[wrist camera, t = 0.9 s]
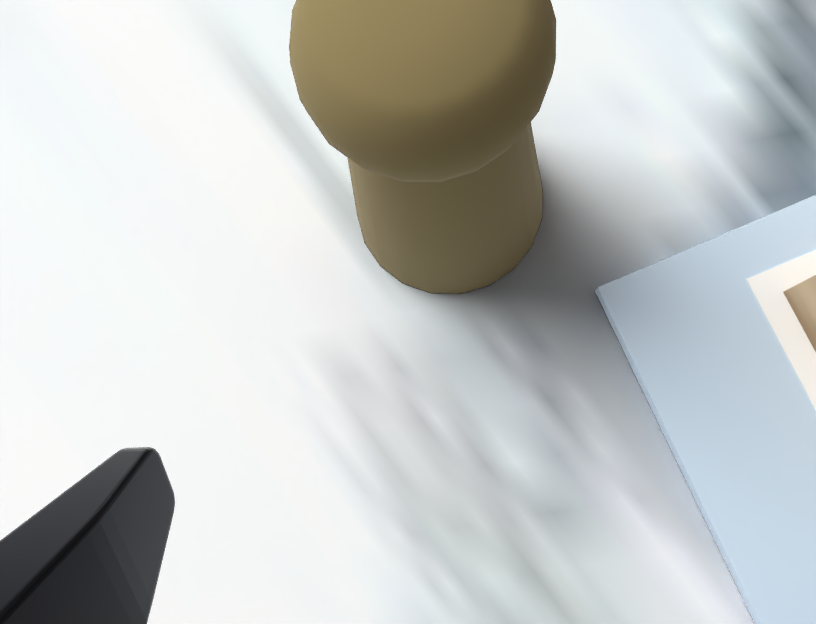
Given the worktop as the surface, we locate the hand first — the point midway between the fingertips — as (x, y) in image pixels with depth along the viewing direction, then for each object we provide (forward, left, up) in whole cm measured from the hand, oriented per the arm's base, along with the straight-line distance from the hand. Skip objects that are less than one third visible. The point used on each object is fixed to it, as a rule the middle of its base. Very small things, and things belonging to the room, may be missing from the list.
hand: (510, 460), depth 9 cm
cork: (+2, +8, -13) cm, 15 cm away
